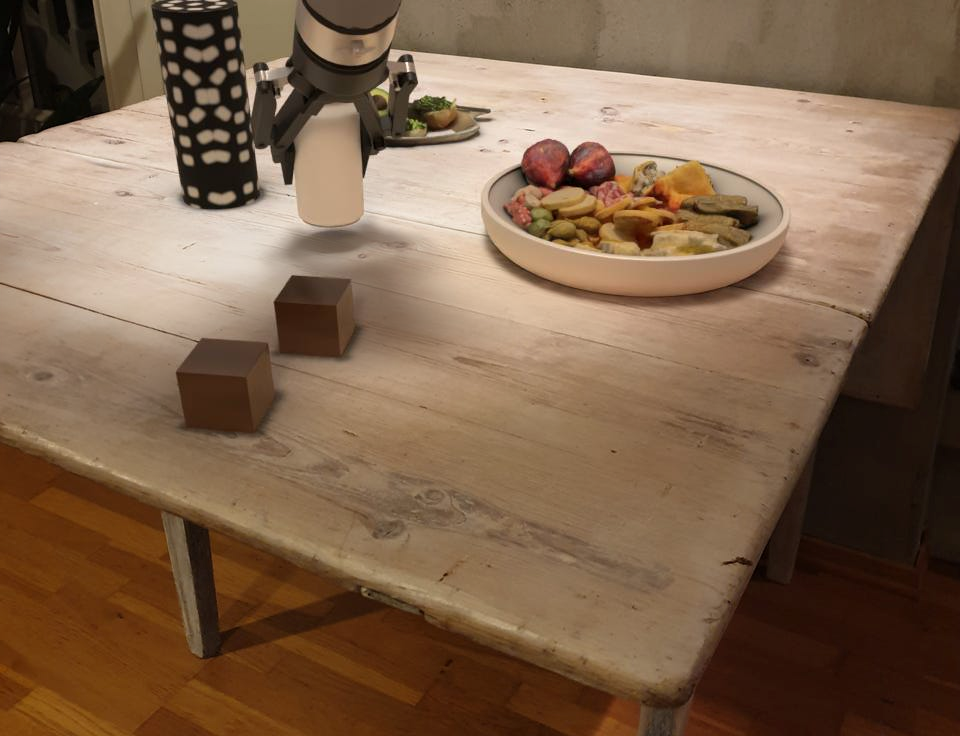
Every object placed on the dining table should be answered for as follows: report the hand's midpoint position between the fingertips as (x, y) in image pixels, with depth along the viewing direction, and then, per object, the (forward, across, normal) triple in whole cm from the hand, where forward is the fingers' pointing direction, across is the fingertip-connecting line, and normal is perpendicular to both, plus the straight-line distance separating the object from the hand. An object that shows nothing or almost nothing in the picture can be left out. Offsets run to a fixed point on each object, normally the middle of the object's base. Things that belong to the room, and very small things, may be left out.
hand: (322, 168), depth 96 cm
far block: (-12, -5, -22) cm, 25 cm away
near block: (-19, -13, -28) cm, 36 cm away
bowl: (-4, +28, -13) cm, 32 cm away
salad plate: (+28, +17, +18) cm, 37 cm away
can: (0, 0, -5) cm, 5 cm away
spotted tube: (+14, -9, +4) cm, 17 cm away
